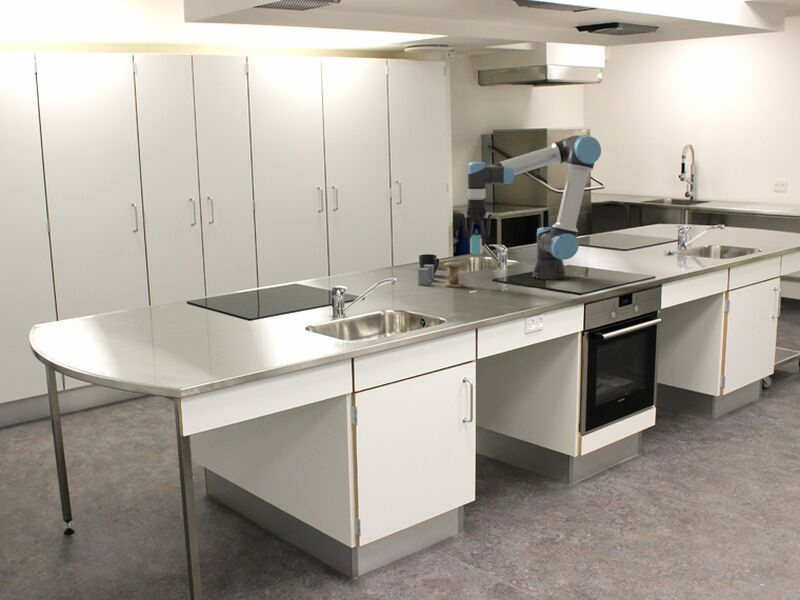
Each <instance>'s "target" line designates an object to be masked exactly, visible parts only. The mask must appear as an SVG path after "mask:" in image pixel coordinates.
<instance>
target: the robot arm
mask: <svg viewBox="0 0 800 600" xmlns="http://www.w3.org/2000/svg"><path fill="white" fill-rule="evenodd" d="M601 153H602V146H601V144H600V142H599V141H598V140H597V138H595V137H593V136H592V135H591V136H590V135H571V136H569V137H567V138H564V139H561V140H559V141H556V142H552V143H551V145H550V146H548V147H544V148H540V149H538V150H535V151H531V152H527V153H525V154H521V155H518V156H516V157H512V158H508V159H506V160H502V161H499V162H496V163H492V164H486V162H484V161H470V162H469V163H468V166H467V198H468V200H467V210H466V212H463V213H461V214H460V216H461V218H462V231H463V237H466V238H467V246H470V247H469V253H470V254H472V235H473V230H474V224H475V221H478V224H479V229H480V235H481V238H480V254H479V255H481V254H483V251H484V250H483V249H484V248H483V247H485V245H486V238H489V236H490V235H491V234H490V233H491V232H490V231H491V222H492V221H491V219H492V218H493V213H489V212H487V210H486V187H487V186H486V185H506V184H507V185H509V184H512V183H513V180H514V176H516V175H519V174H523V173H525V172H530V171H533V170H536V169H539V168H542V167H546V166H549V165H552V164H557V165H560V164H563V163H566V166H567V168H568V171H567V175H566V179H565V184H564V188H563V193H562V197H561V202H560V207H559V210H558V214H557V219H556V222H555V223H554V224H552V226H549V227H548V226H546V227H539V228H537V229H536V231H537V232H536V262H535V264H534V267H533V270H532V277H533V278H534V277H536V278H535V279H537V278H540V279H539V280H546V279H548V280H553V281H554V280H563V279H566V278H567V271H566V267H565V265H564V260H569V259H572V258H573V257H575V255H576V254H577V253H578V251H579V246H580V244H579V240H578V234H579V230H578V229H577V224H578V223H577V222H578V219H579V214H580V211H581V210H580V209H581V206H582V202H583V198H584V192H585V190H586V189H585V188H586V184H587V180H588V176H589V173H590V172H591V171H593V170H594V167H595V163H596V162H597V161H598V160H599V159H600V157H601V155H602V154H601ZM484 217H486V224H485V226H484ZM467 218H469V219H470V221H469V226H468V222H467ZM468 227H469V228H468Z"/></svg>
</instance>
